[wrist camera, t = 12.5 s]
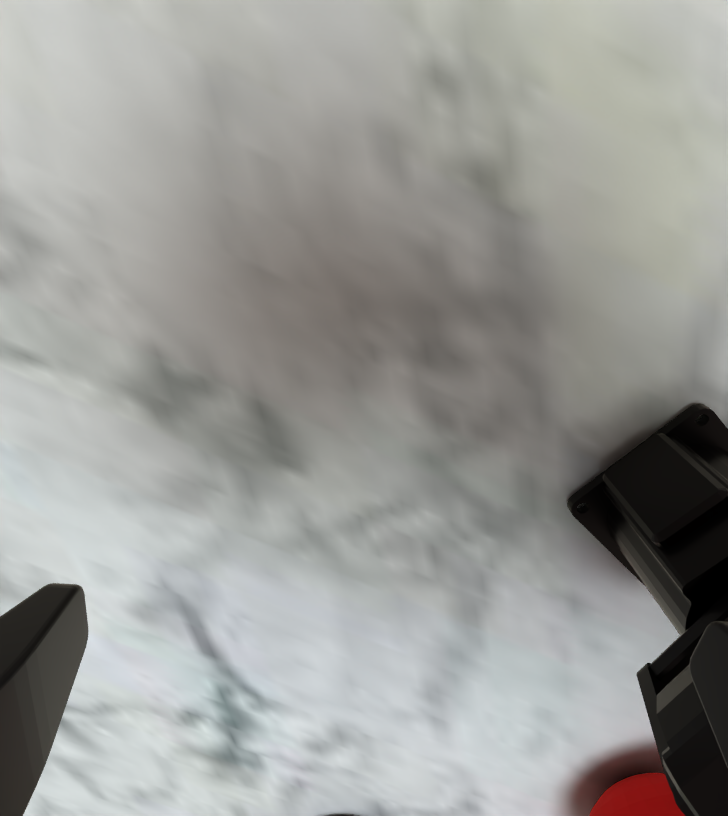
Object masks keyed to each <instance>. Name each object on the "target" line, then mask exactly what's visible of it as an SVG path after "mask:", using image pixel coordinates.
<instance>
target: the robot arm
mask: <svg viewBox="0 0 728 816" xmlns="http://www.w3.org/2000/svg"><path fill="white" fill-rule="evenodd" d="M702 414H703V415H702ZM700 415H702V418H701V419H700V420H698V421H696V419H697V417H698V416H700ZM695 421H696V422H695ZM582 503H585V504H584V506H582V507H580V508H577V507H578V506H579V505H580V504H582ZM567 506H568V508H569V510H570V511H571V513H572V515H573V516H574V517H575V518H576V519H577V520H578V521H579V522H580V523H581V524H582V525H583V526H584V527H585V528H586V529H587V530H588V531H589V532H590V533H591V534H592V535H593V536H595V537H596V538H597V539H598V540H599V541H600V542H601V543H602V544H603V545H604V546H605V547H606V548H607V549H608V550H609V551H610V552H611V553H612V554H613V555H614V556H615V557H616V558H617V559H618V560H619V561H620V562H621V563H622V564H623V565H624V566H625V567H626V568H627V569H628V570H629V571H630V572H631V573H632V574H633V575H635V576H636V577H637V578H638V579H639V580H640V581H641V582H642V583H643V584H644V585H645V586H646V587H647V589H648V590H649V592H650V593H651V594H652V596H653V597H654V599H655V600H656V601H657V603H658V604H659V606H660V607H661V609H662V610H663V611H664V613H665V614H666V616H667V617H668V618H669V620H670V621H671V623H672V624H673V626H674V627H675V628H676V630H677V631H678V633H679V634H680V637H679V638H677V639H676V640H675V641H674V642H673V643H672V644H671V645H670V646H669V647H668V648H667V649H666V650H665V651H664V652H663V653H662V654H661V655H660V656H659V657H658V658H657V659H656V660H655V661H653V662H652V663H647V664H646V665H645V666H644V667H643V668H642V669H640V670H639V671H638V672H637V678H638V681H639V685H640V688H641V692H642V695H643V699H644V702H645V706H646V709H647V713H648V716H649V720H650V724H651V727H652V731H653V734H654V738H655V741H656V745H657V748H658V752H659V755H660V759H661V762H662V766H663V770H664V773H665V776H666V779H667V781H668V784H669V787H670V789H671V791H672V793H673V796H674V800H675V802H676V804H677V806H678V807H679V809H680V810H681V811H682V812H683V814H684V815H685V816H728V429H727V428H726V426H725V425H724V424H723V423H722V421H721V420H720V419H719V418H718V416H717V415H716V414H715V413H714V411H712V410H711V409H709V408H708V407H707V406H705V405H703V404H696V405H693V406H691V407H689V408H688V409H687V410H685V411H684V412H683V413H681V414H680V415H679V416H677V417H676V418H675V419H673V420H672V421H671V422H669V423H668V424H667V425H665V426H664V427H663V428H661V429H660V430H659V431H657V432H656V433H655V434H653V435H652V436H651V437H649V438H648V439H647V440H645V441H644V442H643V443H642V444H640V445H639V446H638V447H636V448H635V449H634V450H632V451H631V452H630V453H628V454H627V455H626V456H624V457H623V458H622V459H620V460H619V461H618V462H616V463H615V464H614V465H612V466H611V467H610V468H608V469H607V470H606V471H604V472H603V473H602V474H600V475H599V476H598V477H596V478H595V479H594V480H592V481H591V482H590V483H588V484H587V485H586V486H584V487H583V488H582V489H580V490H579V491H578V492H576V493H575V494H574V495H572V496H571V497H570V498H569V500H568V503H567ZM87 640H88V622H87V613H86V604H85V595H84V591H83V589H82V587H81V586H79V585H76V584H59V583H52V584H48V585H46V586H44V587H42V588H41V589H39V590H38V591H37V592H35V593H34V594H32V595H31V596H29V597H28V598H27V599H25V600H24V601H22V602H21V603H19V604H18V605H17V606H15V607H14V608H12V609H11V610H9V611H8V612H6V613H5V614H4V615H2V616H1V617H0V816H23V814H24V812H25V810H26V807H27V805H28V803H29V801H30V799H31V796H32V794H33V792H34V790H35V788H36V785H37V783H38V781H39V778H40V776H41V774H42V771H43V769H44V767H45V764H46V761H47V759H48V756H49V753H50V750H51V748H52V745H53V742H54V739H55V736H56V733H57V730H58V727H59V724H60V721H61V718H62V716H63V713H64V710H65V707H66V704H67V701H68V698H69V695H70V692H71V689H72V686H73V683H74V680H75V677H76V675H77V672H78V669H79V666H80V663H81V660H82V657H83V654H84V651H85V648H86V644H87Z"/></svg>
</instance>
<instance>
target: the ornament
mask: <svg viewBox="0 0 728 816" xmlns="http://www.w3.org/2000/svg"><path fill="white" fill-rule="evenodd" d="M589 816H685V815H684V814H683V812H682V811H681V810H680V809H679V807H678V806H677V804H676V802H675V800H674V796H673V793H672V791H671V789H670V787H669V784H668V781H667V779H666V776H665V773H644V774H638V775H634V776H630V777H628V778H625V779H623V780H621V781H619V782H617V783H615V784H614V785H612V786H611V787H609V788H608V789H607V790H606V791H605V792H604V793H603V794H602V795H601V797H600V798H599V800H598V801H597V802H596V804H595V805H594V807H593V808H592V810H591V812H590V815H589Z"/></svg>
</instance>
